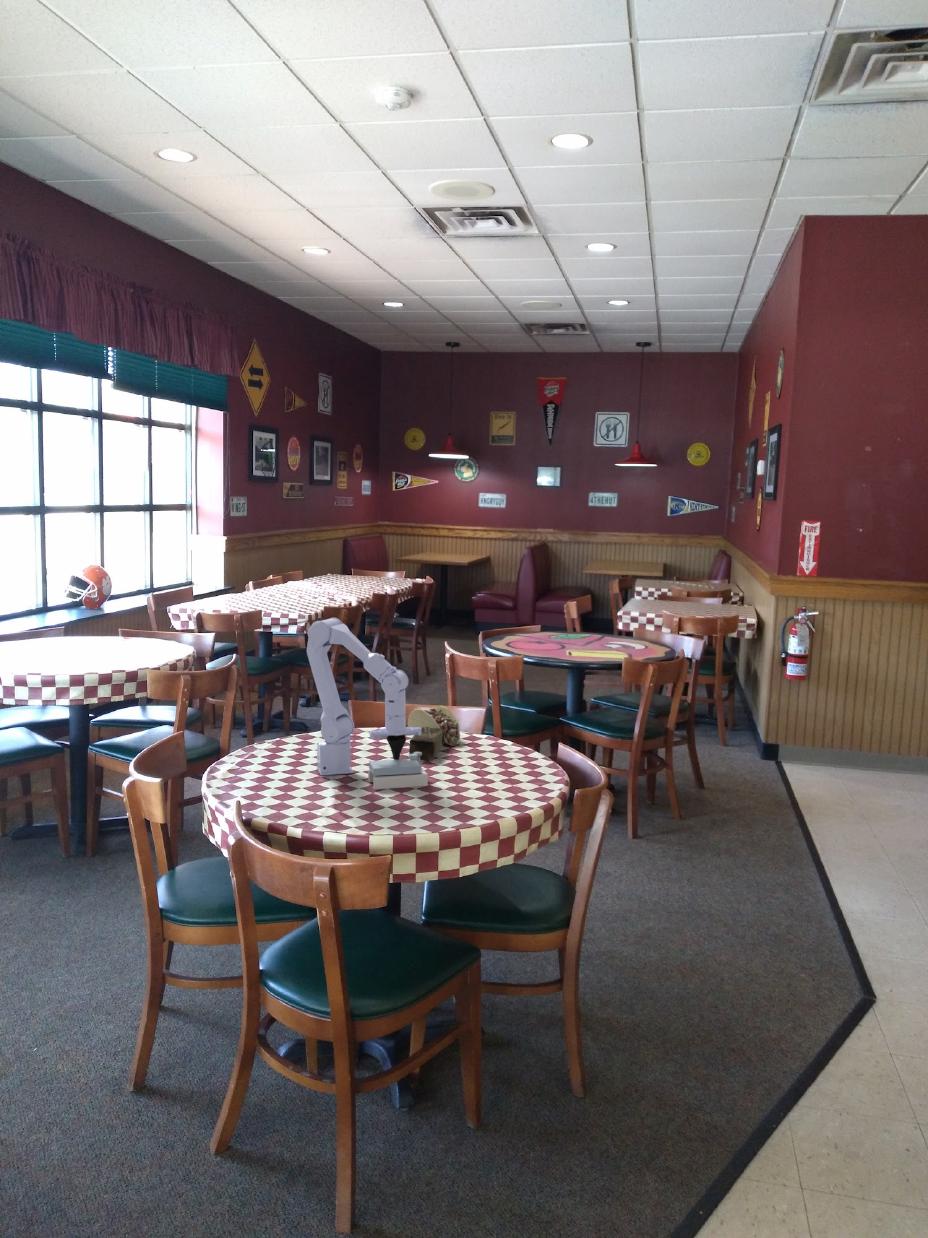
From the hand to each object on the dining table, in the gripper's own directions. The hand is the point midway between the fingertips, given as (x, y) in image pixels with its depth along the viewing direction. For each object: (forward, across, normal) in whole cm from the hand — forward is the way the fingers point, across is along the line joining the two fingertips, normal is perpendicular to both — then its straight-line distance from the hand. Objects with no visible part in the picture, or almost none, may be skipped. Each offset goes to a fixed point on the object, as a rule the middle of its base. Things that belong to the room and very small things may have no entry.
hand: (395, 761), depth 258 cm
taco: (+5, +23, +42) cm, 48 cm away
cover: (+1, 0, -4) cm, 4 cm away
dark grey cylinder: (+5, -2, -5) cm, 8 cm away
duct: (+5, -1, -5) cm, 7 cm away
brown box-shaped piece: (+5, +16, +24) cm, 30 cm away
